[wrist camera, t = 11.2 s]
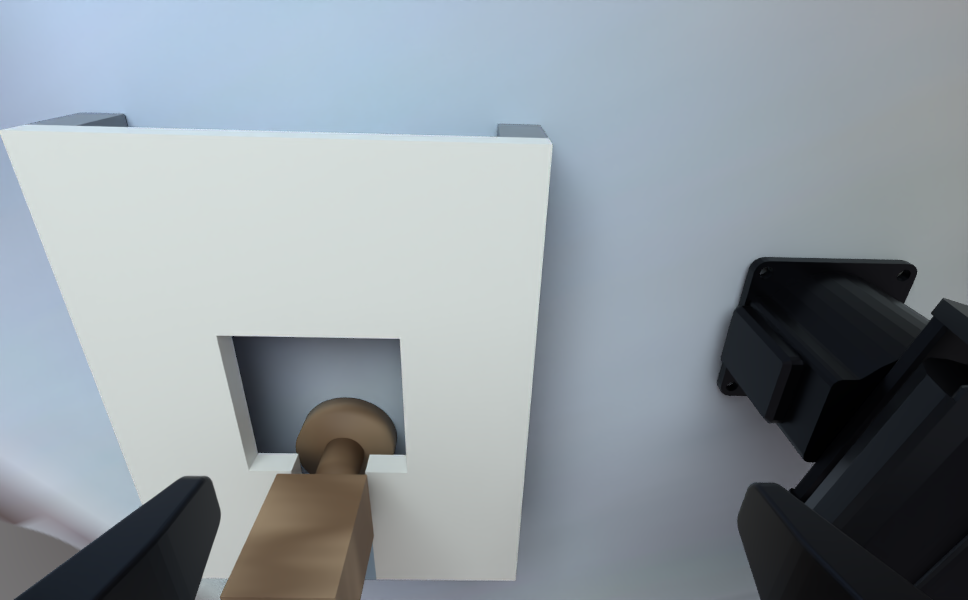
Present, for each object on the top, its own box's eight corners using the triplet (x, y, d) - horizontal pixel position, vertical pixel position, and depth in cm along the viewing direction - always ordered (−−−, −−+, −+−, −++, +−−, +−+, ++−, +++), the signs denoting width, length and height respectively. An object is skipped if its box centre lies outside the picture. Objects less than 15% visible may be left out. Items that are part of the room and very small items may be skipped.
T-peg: (394, 398, 24) (348, 589, 16) (399, 469, 26) (361, 671, 18) (297, 396, 24) (201, 587, 16) (310, 468, 26) (231, 670, 18)
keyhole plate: (540, 125, 19) (552, 144, 15) (511, 519, 28) (515, 580, 25) (80, 112, 18) (-2, 130, 15) (205, 515, 27) (170, 577, 24)
